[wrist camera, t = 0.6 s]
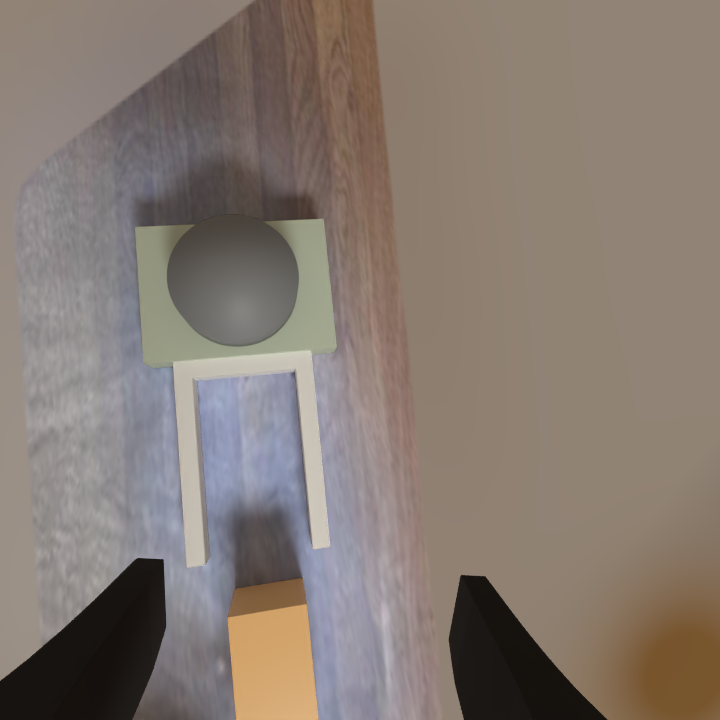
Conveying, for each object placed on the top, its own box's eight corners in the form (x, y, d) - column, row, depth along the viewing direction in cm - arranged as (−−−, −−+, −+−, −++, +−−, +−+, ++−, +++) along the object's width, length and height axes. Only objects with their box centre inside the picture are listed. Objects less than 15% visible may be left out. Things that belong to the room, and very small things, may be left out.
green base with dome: (351, 536, 33) (364, 555, 28) (166, 562, 31) (145, 588, 26) (320, 233, 35) (327, 201, 30) (145, 241, 33) (122, 209, 28)
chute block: (316, 716, 31) (323, 769, 27) (247, 730, 31) (242, 788, 26) (302, 577, 32) (306, 603, 27) (235, 588, 32) (227, 617, 27)
